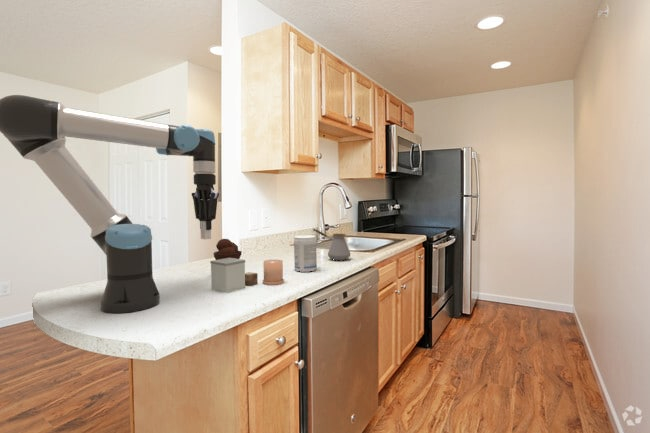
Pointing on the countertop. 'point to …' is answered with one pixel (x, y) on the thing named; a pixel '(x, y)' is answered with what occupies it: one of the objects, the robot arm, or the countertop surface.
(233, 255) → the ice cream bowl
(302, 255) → the supplement tub
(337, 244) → the coffee pot
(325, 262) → the countertop surface
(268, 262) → the terracotta pot
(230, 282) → the grey tub
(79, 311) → the countertop surface
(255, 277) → the letter cube
